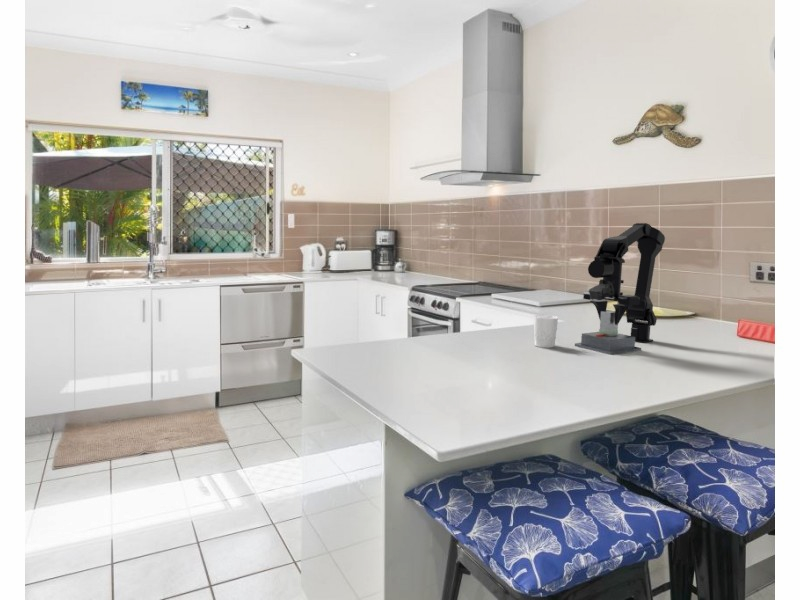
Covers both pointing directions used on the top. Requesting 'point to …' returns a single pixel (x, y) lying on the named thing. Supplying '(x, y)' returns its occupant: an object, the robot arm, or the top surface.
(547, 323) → the white cup
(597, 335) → the housing
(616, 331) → the column
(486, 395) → the top surface
